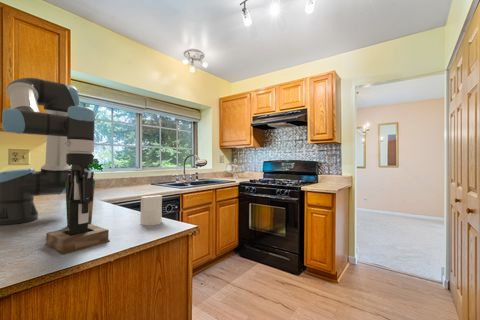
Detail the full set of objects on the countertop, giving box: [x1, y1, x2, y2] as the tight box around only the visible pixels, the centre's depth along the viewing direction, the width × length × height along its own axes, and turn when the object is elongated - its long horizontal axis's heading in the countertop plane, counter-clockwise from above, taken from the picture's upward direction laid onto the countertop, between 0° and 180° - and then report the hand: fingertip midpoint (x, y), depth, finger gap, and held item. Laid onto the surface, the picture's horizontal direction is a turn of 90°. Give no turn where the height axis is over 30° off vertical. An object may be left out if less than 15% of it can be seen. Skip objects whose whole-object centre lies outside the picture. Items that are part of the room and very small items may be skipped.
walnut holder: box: [44, 223, 110, 255], centre depth 75 cm, size 14×14×4 cm
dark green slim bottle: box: [68, 176, 88, 236], centre depth 75 cm, size 5×5×25 cm
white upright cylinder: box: [139, 194, 163, 226], centre depth 102 cm, size 9×9×12 cm
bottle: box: [65, 178, 96, 227], centre depth 96 cm, size 11×11×28 cm
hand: (78, 221), depth 75 cm, fingers closed on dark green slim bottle, 6 cm apart
